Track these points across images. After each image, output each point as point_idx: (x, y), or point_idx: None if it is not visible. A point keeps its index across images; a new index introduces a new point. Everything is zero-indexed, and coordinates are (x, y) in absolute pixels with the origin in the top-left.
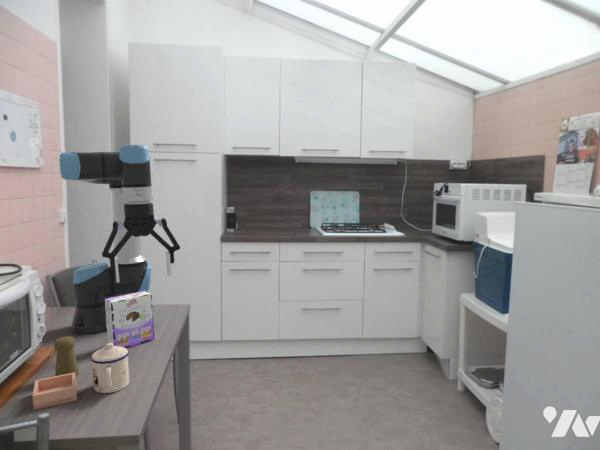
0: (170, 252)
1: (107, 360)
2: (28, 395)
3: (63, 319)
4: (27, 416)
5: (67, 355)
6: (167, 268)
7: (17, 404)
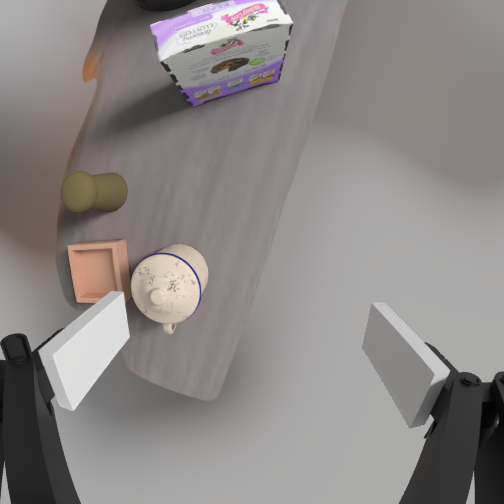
0: (427, 433)
1: (161, 322)
2: None
3: None
4: (85, 308)
5: (92, 207)
6: (380, 337)
7: (66, 266)
